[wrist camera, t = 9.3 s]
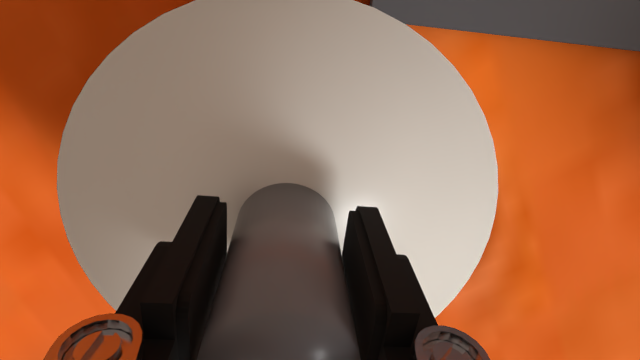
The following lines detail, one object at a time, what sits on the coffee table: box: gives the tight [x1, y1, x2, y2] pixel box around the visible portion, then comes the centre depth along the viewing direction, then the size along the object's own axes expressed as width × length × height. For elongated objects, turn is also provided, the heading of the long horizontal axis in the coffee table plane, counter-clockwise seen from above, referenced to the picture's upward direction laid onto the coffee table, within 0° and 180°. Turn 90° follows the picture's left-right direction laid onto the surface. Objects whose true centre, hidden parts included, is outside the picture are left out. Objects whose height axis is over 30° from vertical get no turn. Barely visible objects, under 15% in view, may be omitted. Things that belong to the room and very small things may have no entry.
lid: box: [57, 0, 498, 360], centre depth 10 cm, size 13×13×6 cm
